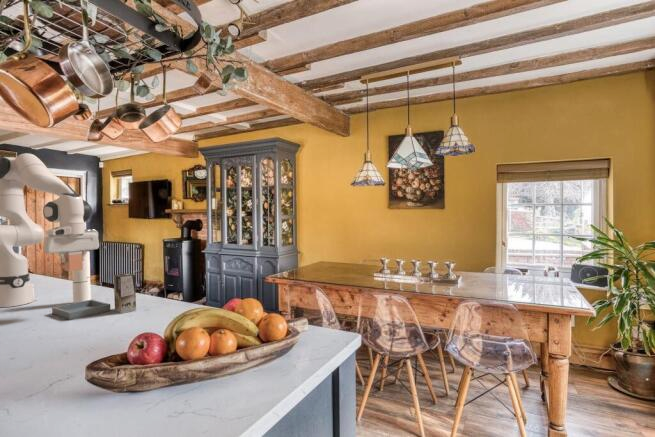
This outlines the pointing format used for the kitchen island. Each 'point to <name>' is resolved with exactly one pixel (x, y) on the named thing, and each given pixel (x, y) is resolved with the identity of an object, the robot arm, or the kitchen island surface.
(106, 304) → the tray
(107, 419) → the kitchen island surface
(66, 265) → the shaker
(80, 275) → the cylindrical container
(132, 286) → the coffee box
